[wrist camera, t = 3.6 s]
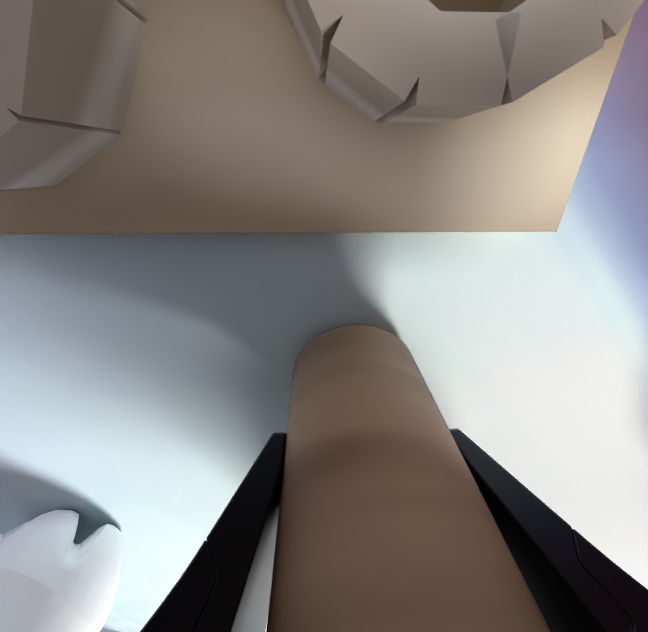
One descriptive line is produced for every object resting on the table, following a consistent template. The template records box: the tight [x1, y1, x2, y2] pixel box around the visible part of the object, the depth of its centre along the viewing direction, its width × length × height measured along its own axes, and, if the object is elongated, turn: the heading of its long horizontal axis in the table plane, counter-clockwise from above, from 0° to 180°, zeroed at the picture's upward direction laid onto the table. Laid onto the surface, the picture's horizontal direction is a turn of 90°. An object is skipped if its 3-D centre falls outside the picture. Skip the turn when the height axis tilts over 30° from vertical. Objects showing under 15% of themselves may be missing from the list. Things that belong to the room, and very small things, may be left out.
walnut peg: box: [267, 325, 550, 632], centre depth 8 cm, size 5×5×10 cm
